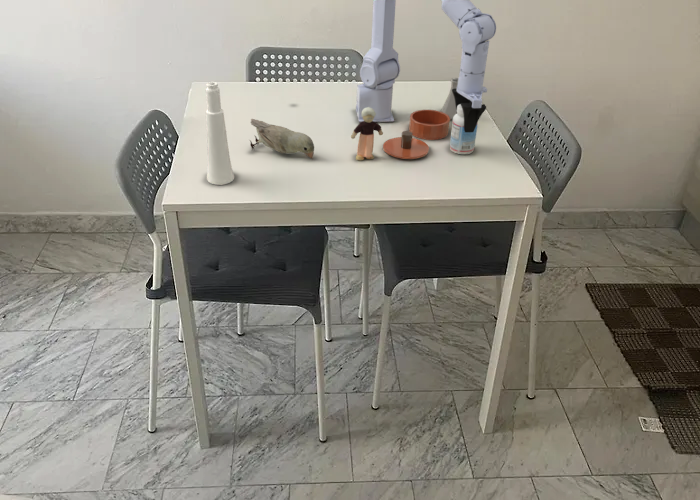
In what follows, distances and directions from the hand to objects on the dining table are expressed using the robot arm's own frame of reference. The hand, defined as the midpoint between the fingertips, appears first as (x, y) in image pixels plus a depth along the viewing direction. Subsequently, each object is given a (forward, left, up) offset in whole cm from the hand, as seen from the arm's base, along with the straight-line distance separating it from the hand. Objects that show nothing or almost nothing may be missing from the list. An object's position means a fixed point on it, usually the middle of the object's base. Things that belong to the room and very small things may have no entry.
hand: (464, 125), depth 161 cm
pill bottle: (0, 0, -7) cm, 7 cm away
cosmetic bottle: (-58, -12, -7) cm, 60 cm away
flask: (+3, +21, -7) cm, 22 cm away
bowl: (-6, +11, -7) cm, 14 cm away
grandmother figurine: (-24, -3, -7) cm, 25 cm away
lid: (-14, 0, -6) cm, 15 cm away
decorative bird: (-44, 0, -7) cm, 45 cm away
